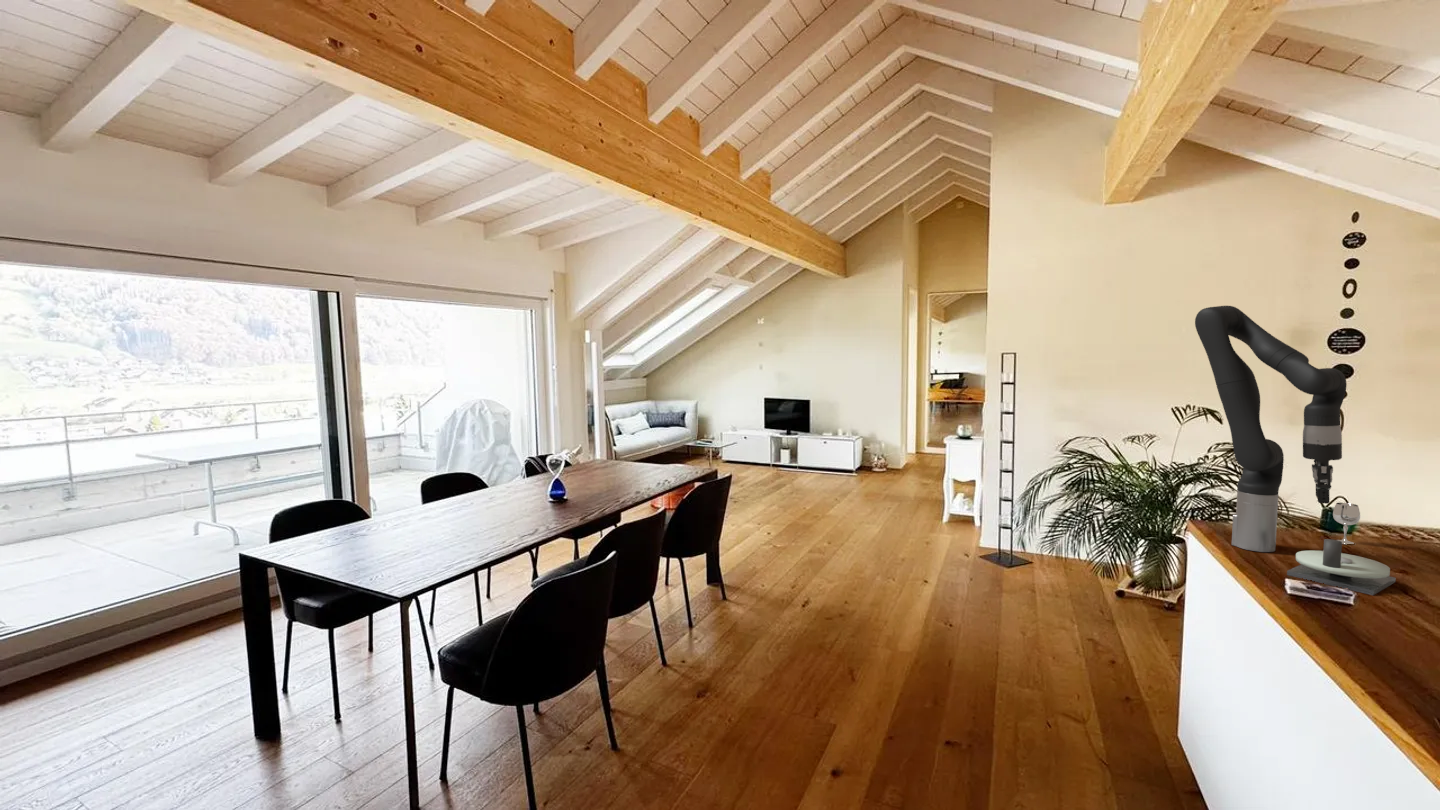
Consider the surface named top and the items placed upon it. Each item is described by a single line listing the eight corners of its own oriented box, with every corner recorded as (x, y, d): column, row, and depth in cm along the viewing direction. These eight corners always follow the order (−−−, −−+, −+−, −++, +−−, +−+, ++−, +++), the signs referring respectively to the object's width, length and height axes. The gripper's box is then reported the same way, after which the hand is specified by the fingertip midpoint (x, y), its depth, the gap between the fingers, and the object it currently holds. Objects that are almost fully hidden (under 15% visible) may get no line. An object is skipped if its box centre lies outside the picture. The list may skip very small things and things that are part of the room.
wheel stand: (1287, 574, 159) (1287, 564, 159) (1311, 563, 166) (1311, 553, 166) (1373, 595, 145) (1373, 583, 145) (1395, 582, 152) (1396, 570, 152)
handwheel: (1310, 551, 167) (1311, 524, 166) (1399, 569, 152) (1401, 539, 151) (1284, 562, 159) (1286, 533, 158) (1376, 583, 144) (1378, 551, 143)
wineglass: (1363, 545, 180) (1366, 507, 179) (1341, 545, 181) (1343, 506, 180) (1348, 540, 186) (1350, 502, 185) (1326, 539, 187) (1328, 501, 186)
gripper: (1301, 438, 170) (1302, 494, 171) (1303, 444, 160) (1304, 503, 160) (1339, 438, 165) (1339, 496, 166) (1344, 445, 155) (1344, 506, 155)
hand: (1322, 500), depth 163 cm, fingers open, 8 cm apart
